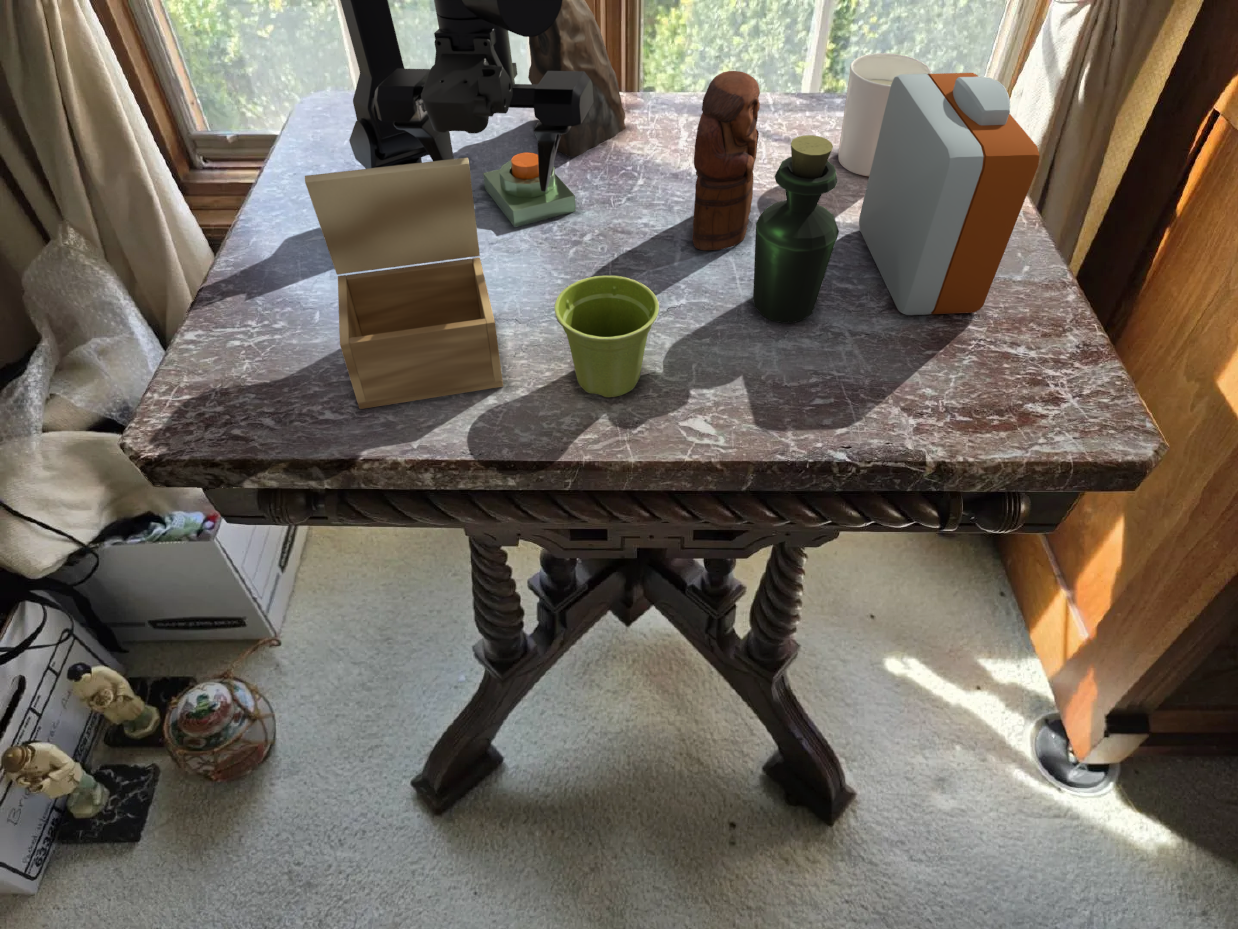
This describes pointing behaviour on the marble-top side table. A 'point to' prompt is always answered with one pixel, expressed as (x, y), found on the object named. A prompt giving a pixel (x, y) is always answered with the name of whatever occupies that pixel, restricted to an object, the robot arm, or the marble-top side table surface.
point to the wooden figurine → (725, 161)
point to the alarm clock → (945, 190)
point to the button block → (528, 196)
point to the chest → (418, 332)
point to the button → (525, 165)
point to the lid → (396, 214)
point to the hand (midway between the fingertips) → (498, 187)
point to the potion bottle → (796, 234)
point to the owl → (580, 49)
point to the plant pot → (607, 331)
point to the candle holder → (869, 105)
